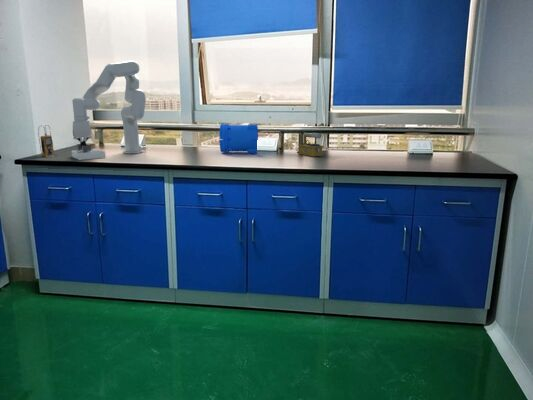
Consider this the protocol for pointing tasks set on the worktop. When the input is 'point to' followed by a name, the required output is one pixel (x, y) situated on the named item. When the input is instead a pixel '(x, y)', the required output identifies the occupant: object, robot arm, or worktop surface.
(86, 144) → the breaker
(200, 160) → the worktop surface
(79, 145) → the breaker
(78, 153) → the breaker panel
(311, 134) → the geiger counter
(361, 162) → the worktop surface
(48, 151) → the multimeter
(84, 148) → the breaker
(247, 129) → the blue plastic case
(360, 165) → the worktop surface
